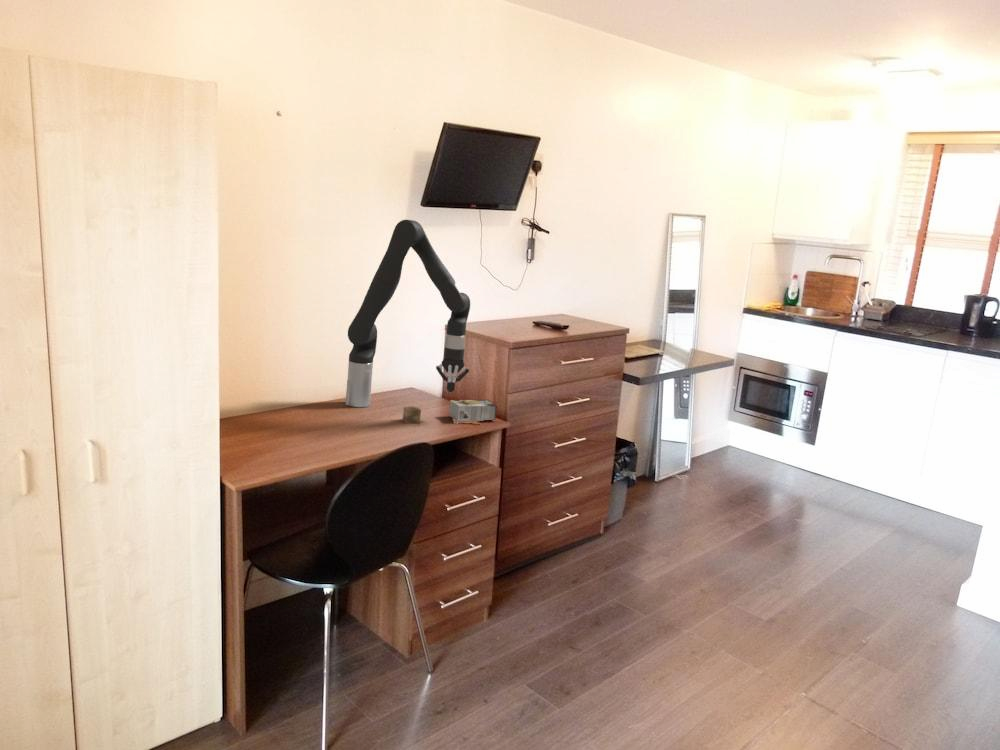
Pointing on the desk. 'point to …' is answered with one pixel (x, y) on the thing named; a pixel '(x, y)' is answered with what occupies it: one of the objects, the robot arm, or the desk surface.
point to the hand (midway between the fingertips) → (450, 391)
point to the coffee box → (472, 410)
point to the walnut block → (411, 414)
